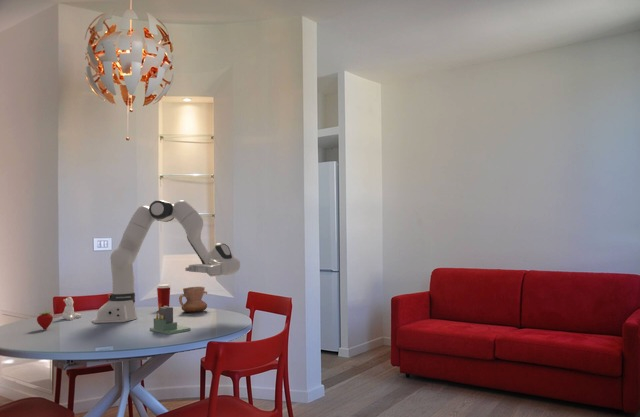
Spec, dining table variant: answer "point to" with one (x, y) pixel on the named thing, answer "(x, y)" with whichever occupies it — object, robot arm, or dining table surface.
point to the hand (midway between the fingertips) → (191, 269)
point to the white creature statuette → (69, 310)
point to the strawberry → (44, 320)
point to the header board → (167, 326)
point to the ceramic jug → (193, 299)
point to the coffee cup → (163, 295)
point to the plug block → (166, 313)
